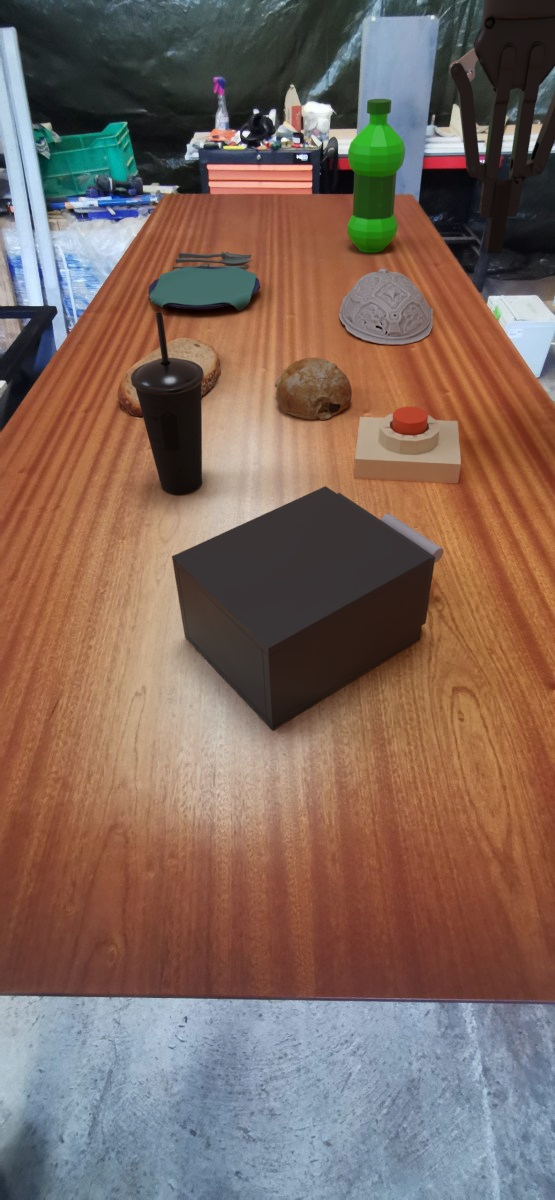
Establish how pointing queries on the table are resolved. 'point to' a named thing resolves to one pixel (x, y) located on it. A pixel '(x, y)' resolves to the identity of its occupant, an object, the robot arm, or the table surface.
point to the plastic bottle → (375, 179)
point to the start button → (409, 421)
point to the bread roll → (313, 389)
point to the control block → (407, 452)
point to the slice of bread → (176, 349)
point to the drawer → (414, 539)
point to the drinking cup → (172, 417)
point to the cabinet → (301, 601)
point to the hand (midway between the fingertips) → (493, 249)
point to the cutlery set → (206, 283)
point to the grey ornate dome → (386, 309)
